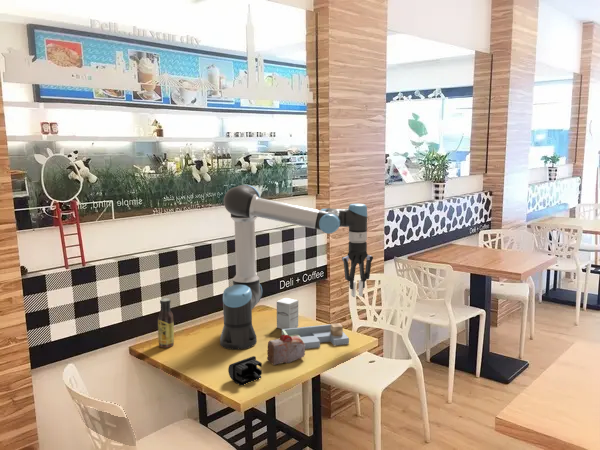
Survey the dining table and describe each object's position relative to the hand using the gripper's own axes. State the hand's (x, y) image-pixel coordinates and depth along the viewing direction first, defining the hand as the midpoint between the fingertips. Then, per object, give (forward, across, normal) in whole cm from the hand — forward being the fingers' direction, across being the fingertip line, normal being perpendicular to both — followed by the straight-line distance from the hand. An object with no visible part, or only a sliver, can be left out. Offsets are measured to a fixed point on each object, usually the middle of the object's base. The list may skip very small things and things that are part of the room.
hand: (357, 295), depth 212 cm
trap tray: (+19, -18, 0) cm, 26 cm away
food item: (+19, -34, -14) cm, 41 cm away
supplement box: (+19, -26, +20) cm, 37 cm away
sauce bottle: (+19, -78, +13) cm, 82 cm away
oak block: (+16, -9, 0) cm, 18 cm away
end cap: (+19, -52, -25) cm, 60 cm away
